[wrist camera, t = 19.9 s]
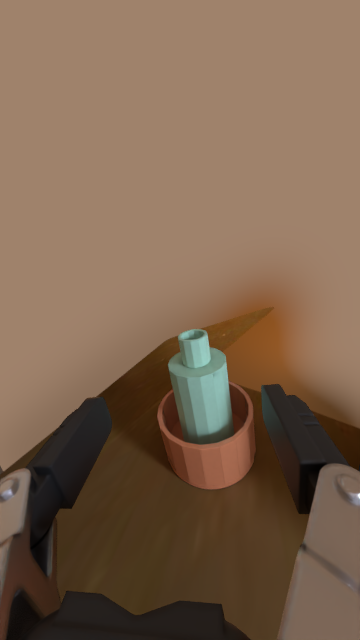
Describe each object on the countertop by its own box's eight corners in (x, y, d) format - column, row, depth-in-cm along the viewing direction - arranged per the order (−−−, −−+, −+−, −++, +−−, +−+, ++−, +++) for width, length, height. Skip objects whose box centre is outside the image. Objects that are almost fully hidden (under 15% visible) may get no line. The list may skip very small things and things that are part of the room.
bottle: (207, 475, 20) (186, 355, 16) (175, 436, 25) (152, 338, 21) (245, 438, 23) (235, 330, 19) (210, 410, 28) (196, 320, 24)
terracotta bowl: (206, 518, 17) (198, 475, 16) (151, 438, 26) (142, 405, 25) (275, 441, 23) (274, 404, 21) (210, 397, 32) (206, 368, 30)
